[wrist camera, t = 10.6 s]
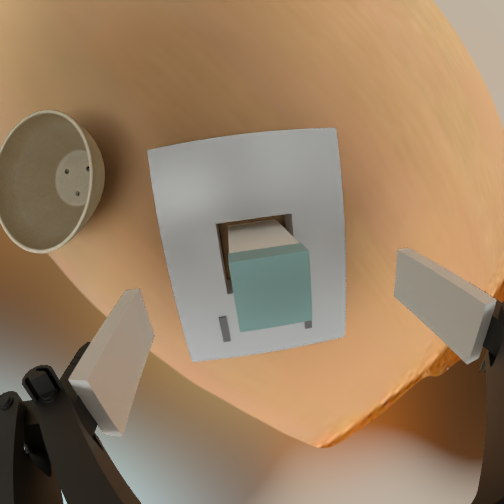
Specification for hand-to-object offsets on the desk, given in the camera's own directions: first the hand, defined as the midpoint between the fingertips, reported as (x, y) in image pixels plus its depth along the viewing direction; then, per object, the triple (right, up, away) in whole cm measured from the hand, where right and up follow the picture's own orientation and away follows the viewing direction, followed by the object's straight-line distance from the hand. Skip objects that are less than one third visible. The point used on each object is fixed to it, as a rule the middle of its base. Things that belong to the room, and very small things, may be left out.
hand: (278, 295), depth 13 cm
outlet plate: (-1, +3, +11) cm, 11 cm away
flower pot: (-17, +9, +8) cm, 20 cm away
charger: (-1, +3, +11) cm, 11 cm away
